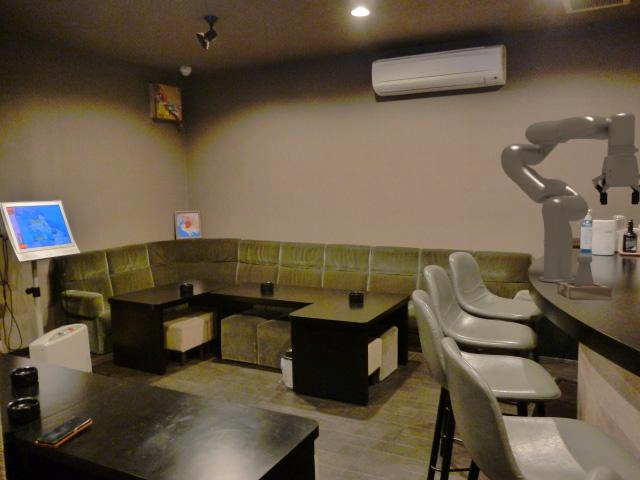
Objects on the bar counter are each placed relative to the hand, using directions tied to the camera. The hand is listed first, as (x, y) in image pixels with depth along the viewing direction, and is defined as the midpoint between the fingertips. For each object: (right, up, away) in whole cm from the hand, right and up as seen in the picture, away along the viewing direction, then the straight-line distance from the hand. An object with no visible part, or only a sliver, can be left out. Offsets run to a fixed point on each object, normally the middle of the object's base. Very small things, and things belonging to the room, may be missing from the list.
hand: (619, 204), depth 167 cm
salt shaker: (-16, -29, -8) cm, 35 cm away
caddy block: (-16, -29, -9) cm, 34 cm away
